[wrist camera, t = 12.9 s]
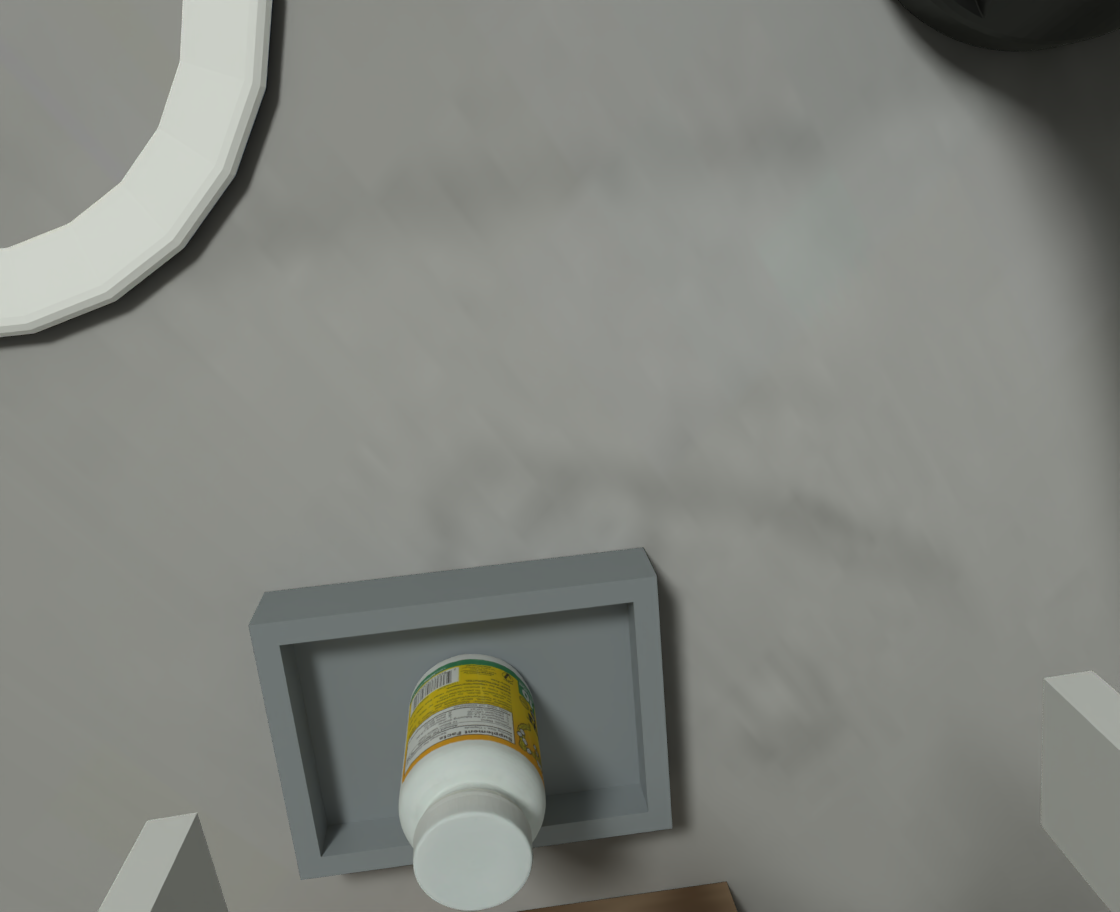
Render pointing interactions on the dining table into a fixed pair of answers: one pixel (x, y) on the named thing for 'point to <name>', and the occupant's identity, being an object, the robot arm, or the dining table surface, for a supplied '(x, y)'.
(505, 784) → the supplement bottle
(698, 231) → the dining table surface
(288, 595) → the slate tray
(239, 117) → the white flat ring
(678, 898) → the walnut box
